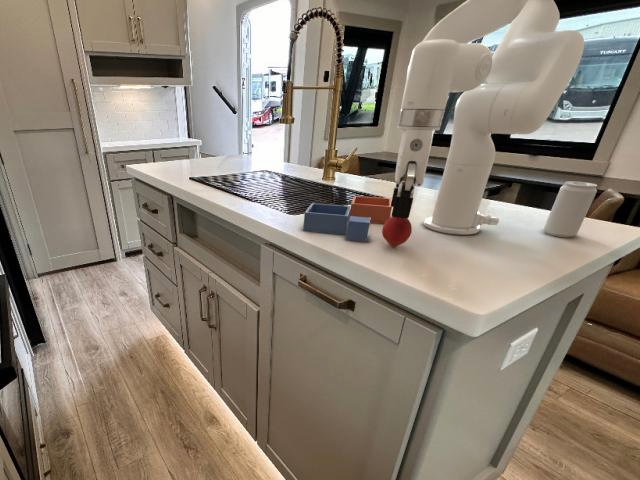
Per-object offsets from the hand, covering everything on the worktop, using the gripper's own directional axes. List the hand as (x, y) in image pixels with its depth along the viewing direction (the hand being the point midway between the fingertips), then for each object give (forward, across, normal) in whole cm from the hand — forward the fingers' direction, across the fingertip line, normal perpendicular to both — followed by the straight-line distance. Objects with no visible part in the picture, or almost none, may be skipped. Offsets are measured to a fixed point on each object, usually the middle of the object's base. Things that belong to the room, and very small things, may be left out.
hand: (398, 212), depth 75 cm
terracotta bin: (+7, +24, +6) cm, 25 cm away
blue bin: (+8, +11, +16) cm, 20 cm away
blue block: (+8, +4, +8) cm, 12 cm away
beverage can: (+7, +24, -38) cm, 46 cm away
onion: (+8, +1, 0) cm, 8 cm away
